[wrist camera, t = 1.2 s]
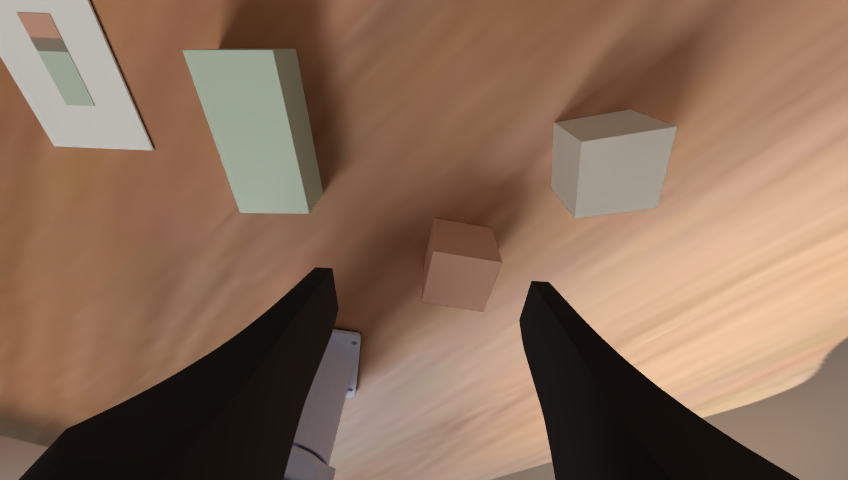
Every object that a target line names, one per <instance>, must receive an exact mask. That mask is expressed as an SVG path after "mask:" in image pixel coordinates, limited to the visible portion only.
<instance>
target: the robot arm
mask: <svg viewBox="0 0 848 480" xmlns="http://www.w3.org/2000/svg"><path fill="white" fill-rule="evenodd" d="M337 312H338V303H337V296H336V290H335V283H334V276H333V270H332V268H317V267H316V268H314V269H313V270H312V271H311V272H310V273H309V274H308V275H307V276H305V277H304V278H303V279H302V280H301V281H300V282H299V283H298V284H297V285H296V286H295V287H294V288H292V289H291V290H290V291H289V292H288V293H287V294H286V295H285V296H284V297H282V298H281V299H280V300H279V301H278V302H277V303H276V304H275V305H273V306H272V307H271V308H270V309H269V310H268V311H266V312H265V313H264V314H263V315H261V316H260V317H259V318H258V319H256V320H255V321H254V322H253V323H251V324H250V325H249V326H248V327H246V328H245V329H244V330H242V331H241V332H240V333H238V334H237V335H236V336H234V337H233V338H231V339H230V340H229V341H227V342H226V343H224V344H223V345H221V346H220V347H218V348H217V349H215V350H214V351H212V352H211V353H209V354H208V355H206V356H204V357H203V358H201V359H200V360H198V361H196V362H195V363H193V364H191V365H190V366H188V367H187V368H185V369H183V370H182V371H180V372H178V373H177V374H175V375H173V376H171V377H170V378H168V379H166V380H164V381H162V382H161V383H159V384H157V385H155V386H153V387H151V388H150V389H148V390H146V391H144V392H142V393H140V394H138V395H136V396H134V397H132V398H130V399H129V400H127V401H125V402H123V403H121V404H119V405H116V406H114V407H112V408H110V409H108V410H106V411H104V412H102V413H100V414H98V415H96V416H93V417H91V418H89V419H87V420H85V421H83V422H81V423H79V424H77V425H74V426H72V427H70V428H68V429H66V430H65V431H64V432H63V433H62V434H61V435H60V436H59V437H58V438H57V439H56V440H55V442H54V443H53V444H52V445H51V446H50V447H49V448H48V449H47V450H46V451H45V452H44V454H42V455H41V456H40V458H39V459H38V460H37V461H36V462H35V463H34V464H33V465H32V466H31V467H30V468H29V469H28V470H27V471H26V472H25V474H24V475H23V476H22V477H21V478H20V479H19V480H333V479H334V474H335V470H336V469H335V468H333V467H330V466H328V465H329V461H330V457H331V453H332V449H333V445H334V441H335V437H336V433H337V429H338V425H339V421H340V417H341V413H342V409H343V405H344V401H345V397H347V398H353V397H355V394H356V385H357V375H358V364H359V354H360V344H361V335H360V334H359V333H357V332H350V331H343V330H336V329H333V328H334V324H335V320H336V316H337ZM519 321H520V328H521V335H522V341H523V346H524V350H525V354H526V357H527V361H528V364H529V368H530V371H531V374H532V378H533V381H534V384H535V388H536V391H537V395H538V398H539V401H540V405H541V408H542V412H543V416H544V420H545V425H546V430H547V435H548V440H549V445H550V450H551V456H552V462H553V467H554V473H555V479H556V480H799V479H798V478H796V477H795V476H793V475H791V474H790V473H788V472H786V471H784V470H783V469H781V468H780V467H778V466H776V465H774V464H773V463H771V462H770V461H768V460H766V459H765V458H763V457H761V456H760V455H758V454H756V453H754V452H753V451H751V450H750V449H748V448H746V447H745V446H743V445H741V444H740V443H738V442H737V441H735V440H733V439H732V438H731V437H729V436H728V435H726V434H724V433H723V432H721V431H720V430H718V429H717V428H715V427H714V426H712V425H711V424H709V423H708V422H706V421H705V420H703V419H702V418H701V417H699V416H698V415H696V414H695V413H693V412H692V411H690V410H689V409H688V408H686V407H685V406H683V405H682V404H681V403H679V402H678V401H677V400H675V399H674V398H673V397H671V396H670V395H669V394H667V393H666V392H665V391H663V390H662V389H661V388H659V387H658V386H657V385H655V384H654V383H653V382H652V381H650V380H649V379H648V378H647V377H645V376H644V375H643V374H642V373H641V372H639V371H638V370H637V369H636V368H635V367H633V366H632V365H631V364H630V363H629V362H627V361H626V360H625V359H624V358H623V357H622V356H621V355H620V354H618V353H617V352H616V351H615V350H614V349H613V348H612V347H611V346H610V345H609V344H608V343H607V342H606V341H605V340H603V339H602V338H601V337H600V336H599V335H598V334H597V333H596V332H595V331H594V330H593V329H592V328H591V327H590V326H589V325H588V324H587V323H586V322H585V321H584V319H583V318H582V317H581V316H580V315H579V314H578V313H577V312H576V311H575V310H574V309H573V308H572V307H571V306H570V305H569V303H568V302H567V301H566V300H565V299H564V298H563V297H562V296H561V295H560V294H559V292H558V291H557V290H556V289H555V288H554V287H553V286H552V285H551V284H550V283H549V282H539V281H532V282H531V285H530V288H529V291H528V294H527V298H526V301H525V304H524V307H523V310H522V314H521V317H520V320H519Z"/></svg>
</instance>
